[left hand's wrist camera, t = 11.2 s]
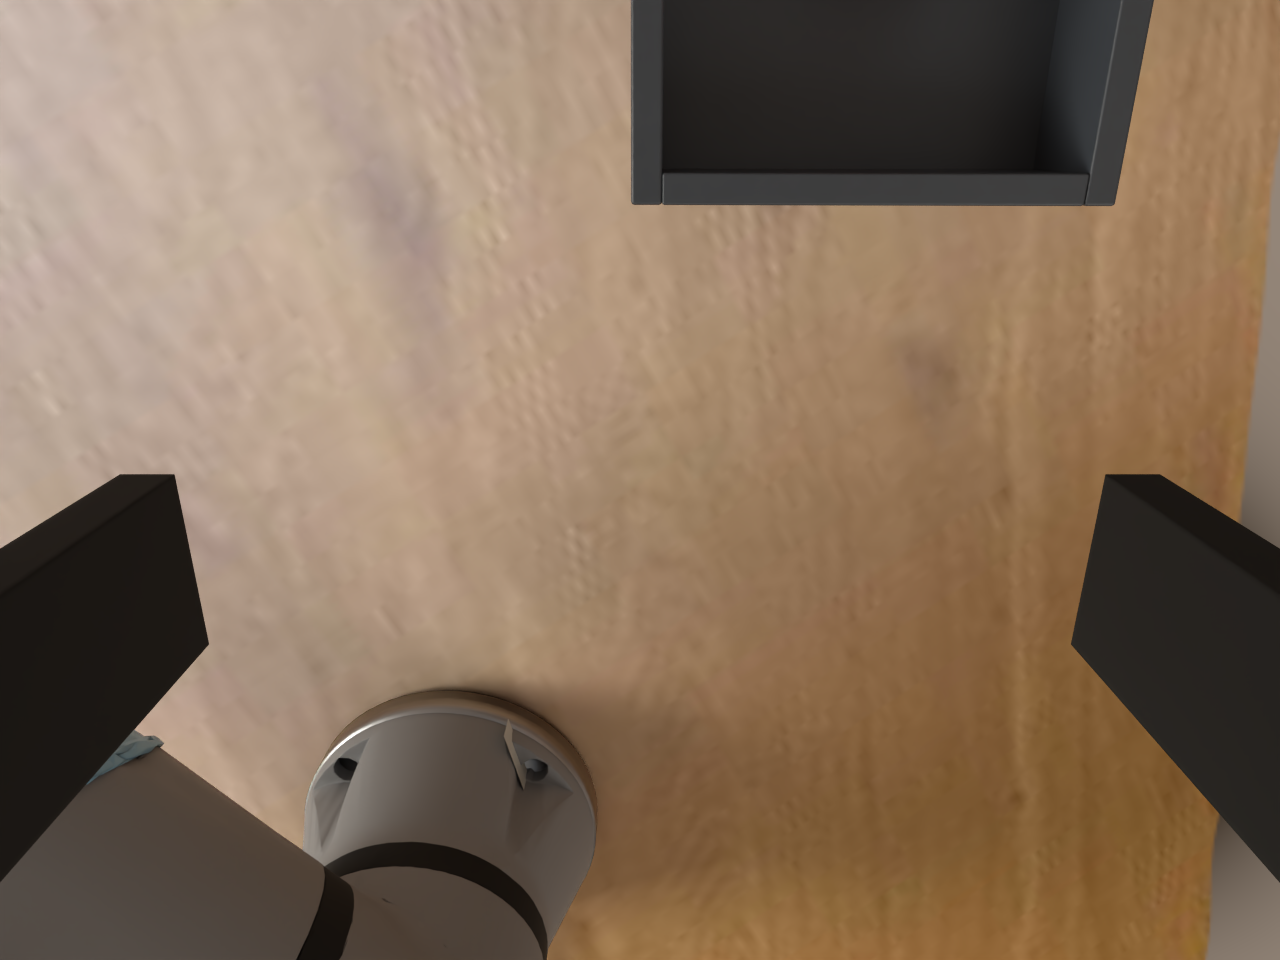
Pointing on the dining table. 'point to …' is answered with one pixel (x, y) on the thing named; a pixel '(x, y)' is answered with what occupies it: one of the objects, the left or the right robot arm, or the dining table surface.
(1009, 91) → the tray
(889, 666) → the dining table surface
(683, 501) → the dining table surface
